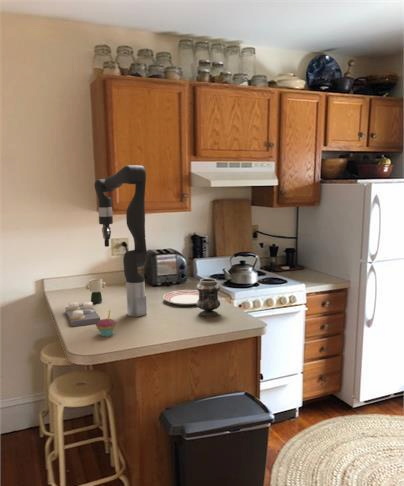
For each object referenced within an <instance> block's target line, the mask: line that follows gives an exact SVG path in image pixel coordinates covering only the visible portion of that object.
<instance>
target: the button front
mask: <svg viewBox="0 0 404 486" xmlns="http://www.w3.org/2000/svg"><path fill="white" fill-rule="evenodd" d="M81 317H83V311H82V310H76V311H73V318H81Z"/></svg>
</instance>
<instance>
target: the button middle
mask: <svg viewBox="0 0 404 486" xmlns="http://www.w3.org/2000/svg"><path fill="white" fill-rule="evenodd" d="M82 305H83V309H91V308H93V309H94V307H93V302H91V301H85V302H82Z"/></svg>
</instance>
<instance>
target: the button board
mask: <svg viewBox="0 0 404 486" xmlns="http://www.w3.org/2000/svg"><path fill="white" fill-rule="evenodd" d="M76 310H82V311H83V317H81V318H73V311H76ZM65 313H66V314H65V315H66V316H67V318H68V320H69V322H70V325H71V326H72V327H73V328H74V327H79V326H80V327H81V326H88V325H94V324H95V325H96V324H97V322H99V321H100V320H101V317H100V315H99V314H98V312H97V311H96V310H95V308H94V307H93V308H91V309H83V304H82V305H78V309H69V306H67V307H65Z"/></svg>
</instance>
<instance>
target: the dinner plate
mask: <svg viewBox="0 0 404 486" xmlns="http://www.w3.org/2000/svg"><path fill="white" fill-rule="evenodd" d="M162 298H163V300H164V301H166V302H168V303H171V304H174V305H177V306H197V305H196V303H197V301H198V300H199V291H198V290H197V289H181V290H174V291H170V292H166V293H165V294H164V295H163V297H162Z"/></svg>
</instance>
